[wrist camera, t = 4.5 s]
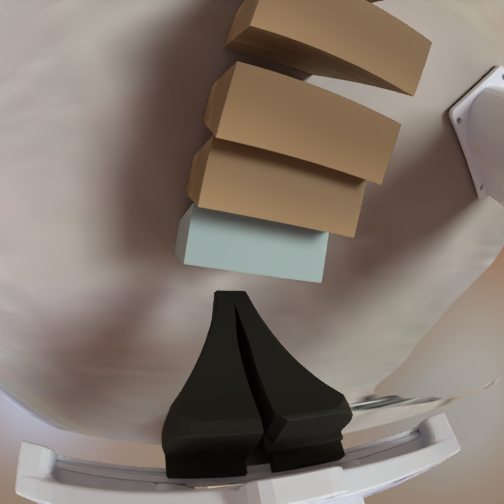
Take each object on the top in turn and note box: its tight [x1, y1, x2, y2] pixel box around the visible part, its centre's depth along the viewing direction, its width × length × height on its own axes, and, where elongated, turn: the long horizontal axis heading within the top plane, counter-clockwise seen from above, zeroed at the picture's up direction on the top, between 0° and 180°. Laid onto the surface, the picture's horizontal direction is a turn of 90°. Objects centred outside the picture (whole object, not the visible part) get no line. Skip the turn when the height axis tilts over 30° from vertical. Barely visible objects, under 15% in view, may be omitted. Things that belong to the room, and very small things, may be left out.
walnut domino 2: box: [202, 61, 401, 185], centre depth 11 cm, size 2×5×9 cm, turn 73°
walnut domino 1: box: [224, 0, 432, 97], centre depth 9 cm, size 2×5×9 cm, turn 73°
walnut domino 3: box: [186, 135, 367, 238], centre depth 13 cm, size 2×5×9 cm, turn 73°
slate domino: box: [174, 203, 329, 283], centre depth 15 cm, size 2×5×9 cm
